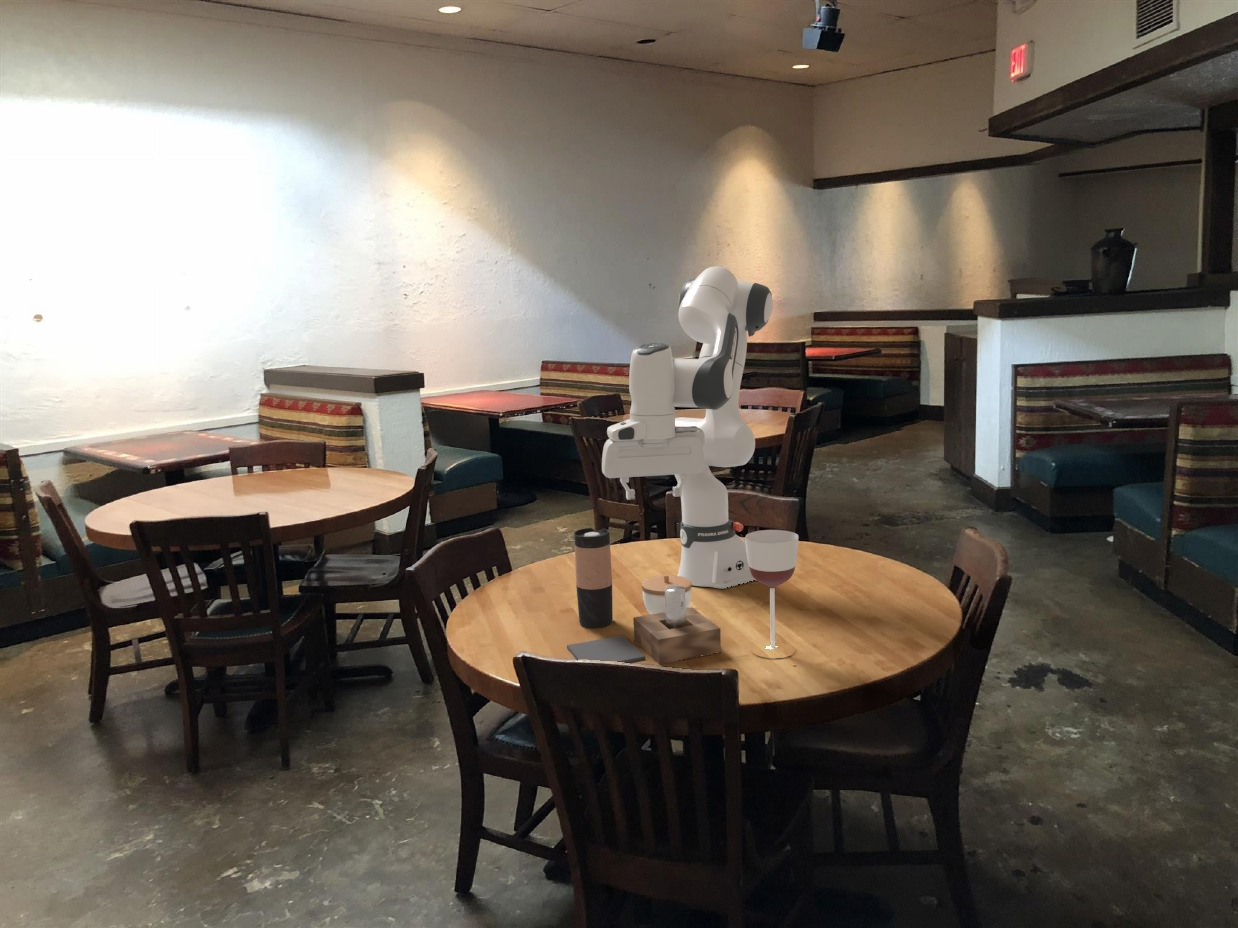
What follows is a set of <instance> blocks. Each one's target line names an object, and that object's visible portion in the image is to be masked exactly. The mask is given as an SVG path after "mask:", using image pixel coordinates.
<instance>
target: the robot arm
mask: <svg viewBox="0 0 1238 928" xmlns="http://www.w3.org/2000/svg"><path fill="white" fill-rule="evenodd" d="M773 309H774V300H773V294H772V292H771V289H770V288H769V287H768V286H766V285H764V284H761V283H758V282H754V283H752V282H747V281H744V280H743V281H742V280H738V279H737V277H736V276H735V274H734V273H732V271H731V270H729V269H728V268H726V267H725V266H724V267H723V266H719V265H718V266H717V265H715V266H710V267H707V268H705V269H704V270H703V271H702V272H700V273H699V275H697V277H696V278H691V279H688V281H686V282H685V283H684V284H683V285H682V287H681V289H680V293H679V295H678V312H677V315H678V321H679V324H680V327H681V329H682V331H683V332H684V333H685V334H686V335H687V336H688V337H689V338H690V339H693V341H695V342H698V343H701V344H702V347H701V349H700V352H699V356H698V358H675V357H673V353H672V348H671V346H670V345H669V344H666V343H663V342H661V343H660V342H655V343H654V342H651V343H646V344H645V343H644V344H641V345H638V346H636V347H635V348H634V349H632V352H631V357H630V362H629V373H628V374H629V376H628V377H629V378H628V388H629V389H628V390H629V395H630V397H631V398H630V399H631V406H630V409H629V419H625V420H623V421H620V422H617V423H615V424H612V425H610V426H608V427H607V430H606V434H607V437H608V439H607V440H606V441H605V442H604V445H603V449H602V455H601V456H602V457H601V472H602V474H603V475H604V476H605V477H606V478H608V479H616V478H617V479H619V482H620V483H621V485H622V487H623V488H624V490H625V498H626V500H628V501H631V500H636V496H635V495H636V491H635V489H634V488H630V487H629V485H628V484H627V483H629V482H630V478H633V477H634V478H635V477H637V478H638V477H639V478H640V477H653V476H654V477H655V476H669V475H670V476H671V475H673V476H674V477H675V479H676V481H677V484H676V486H672V496H673V497H676V498H677V497H680V502H681V503H680V504H681V521H680V533H679V534H680V535H679V536H680V543H681V555H680V561H679V568H678V572H677V574H676V576H681V577H685V578H687V579H689V580H690V581H691V583H692V586H694V587H695V586H696V587H703V588H704V587H709V588H714V589H722V590H723V589H728V588H732V587H735V586H739V585H738V584H740V585H743V583H744V584H747V582H748V583H750V582H749V581H752V582H754V581H753V580H755V581H757V580H756V579H755V578H753V576H752V575H751V572H750V569H749V564H748V559H747V553H746V542H745V539H743V538H742V537H741V536H739V535H737V534H736V532H737V533H738V532H740V533H741V532H742V531H743V530H744V525H743V524H742V523H740V522H738V521H733V520H731V519H729V499H728V498H729V493H728V492H729V491H728V490H727V488H726V485H724V483H722V482H721V480H719V479H717V478H716V476H714V474H713V473H712V471H711V469H710V467H711V466H712V467H721V468H732V467H738V466H739V467H741V466H744V465H746V464H747V463H749V461H750V460H751V458H752V457H753V455H754V452H755V450H756V449H755V448H756V438H755V435H754V433H753V431H752V429H751V427H750V426H749V425H748V424H747V423H746V422H745V421H744V418H743V417H742V414H741V410H740V405H739V395H740V390H741V385H742V378H743V374H744V369H745V365H746V364H745V363H746V357H747V348H748V337H749V338H750V337H753V336H754V335H755V334H756V332H758V331H760V330H762V329H763V328H764V327H765V326H766V325H767V324H768V322H769V320H770V317H771V315H772V313H773ZM676 407H677V408H699V409H704V410H705V417H704V418H697V417H682V416H680V417H676ZM731 586H732V587H731ZM727 587H728V588H727Z"/></svg>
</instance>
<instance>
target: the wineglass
mask: <svg viewBox="0 0 1238 928" xmlns="http://www.w3.org/2000/svg"><path fill="white" fill-rule="evenodd" d="M744 537H745V539H744V540H745V542H746V553H747V559H748V564H749V569H750V572H751V575H752V576H753V578H755V579H756V580H755V581H756V582H758V583H760V584H762V585H765V586H767V587H768V588H769V613H770V615H769V617H770V618H769V620H770V621H769V624H770V625H769V626H770V627H769V629H770V630H769V633H770V634H769V635H770V641H769V642H771V645H770V646H766V648H765V649H770V650H771V649H777V647H778V646H775V642H776V621H775V620H776V614H775V613H776V608H775V607H776V606H775V605H776V602H775V601H776V599H775V598H776V597H775V594H776V593H775V592H776V591H775V588H776V587H777V586H780V585H782V584H784V583H786V582H788V581H789V580H790V579H791V578H792V577H793V575H794V573H795V570H796V569H795V568H796V564H797V559H798V553H799V552H798V551H799V534H797V533H795V532H793V531H790V530H783V529H765V530H763V529H762V530H756V531H752V532H751V531H750V532H749V533H746V535H745V536H744Z"/></svg>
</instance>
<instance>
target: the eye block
mask: <svg viewBox="0 0 1238 928" xmlns="http://www.w3.org/2000/svg"><path fill="white" fill-rule="evenodd" d="M632 621H633V641H634V642H635V643H636V644H637V645H638V646H639V647H640V648H641V649H642V650H643V651H644V652H645V653H646V654H647V655H648V656H650V658H652V659H653V660H654V661H655V663H657V662H658V663H657V664H658V665H663V664H669V663H673V662H678V661H679V660H680V661H684V660H683V659H685V660H688V659H687V658H690V659H693V658H692V657H695V658H697V657H696V656H700V657H702V656H701V655H706V656H708V655H707V654H711V653H716V652H721V653H722V643H721V641H722V640H721V638H722V637H721V627H719V626H718V625H716V624H715V623H714V622H712V621H711V620H710V619H709V618H708V617H706V616H704V615H703V614H701V613H700V612H699V611H697V609H695V608H694V607H689V608H686V626H685V627H679V628H674V629H668V628H667V627H666V614H665V612H662V613H657V614H646V615H640V616H635V617H633V618H632ZM716 654H717V653H716ZM711 655H712V654H711ZM680 661H679V662H680Z"/></svg>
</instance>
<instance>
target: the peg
mask: <svg viewBox="0 0 1238 928" xmlns="http://www.w3.org/2000/svg"><path fill="white" fill-rule="evenodd" d="M665 614H666V627H667V628H668V629H674V628H679V627H685V626H686V602H685V588H684V587H682V586H669V587H666V588H665Z"/></svg>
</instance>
